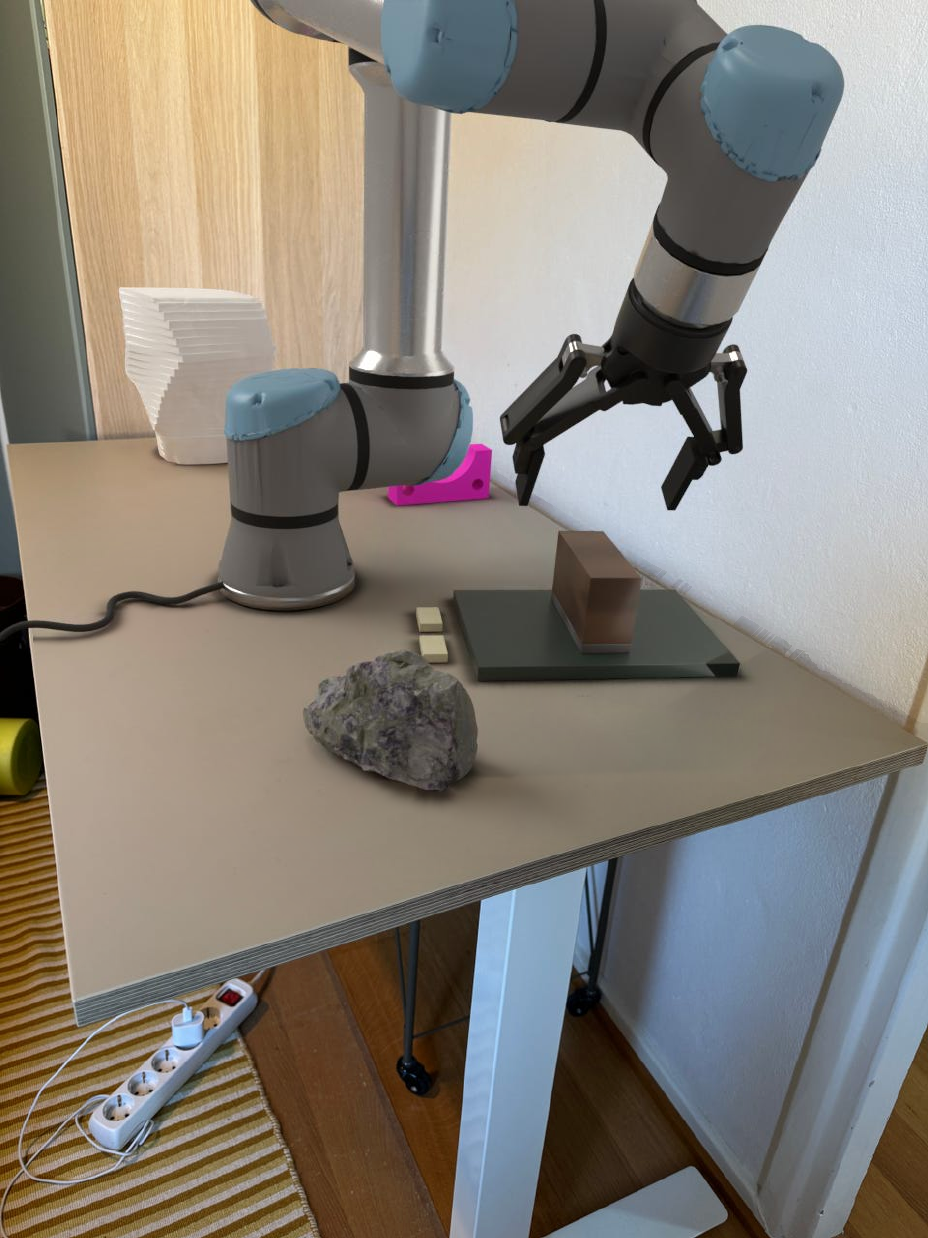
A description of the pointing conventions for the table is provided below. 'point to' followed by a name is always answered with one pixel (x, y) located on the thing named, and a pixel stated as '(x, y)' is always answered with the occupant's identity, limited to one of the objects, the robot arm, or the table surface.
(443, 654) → the cream flat block
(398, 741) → the mineral rock
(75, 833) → the table surface
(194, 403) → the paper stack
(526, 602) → the slate board
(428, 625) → the cream rectangular block
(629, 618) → the block
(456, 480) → the toy block
